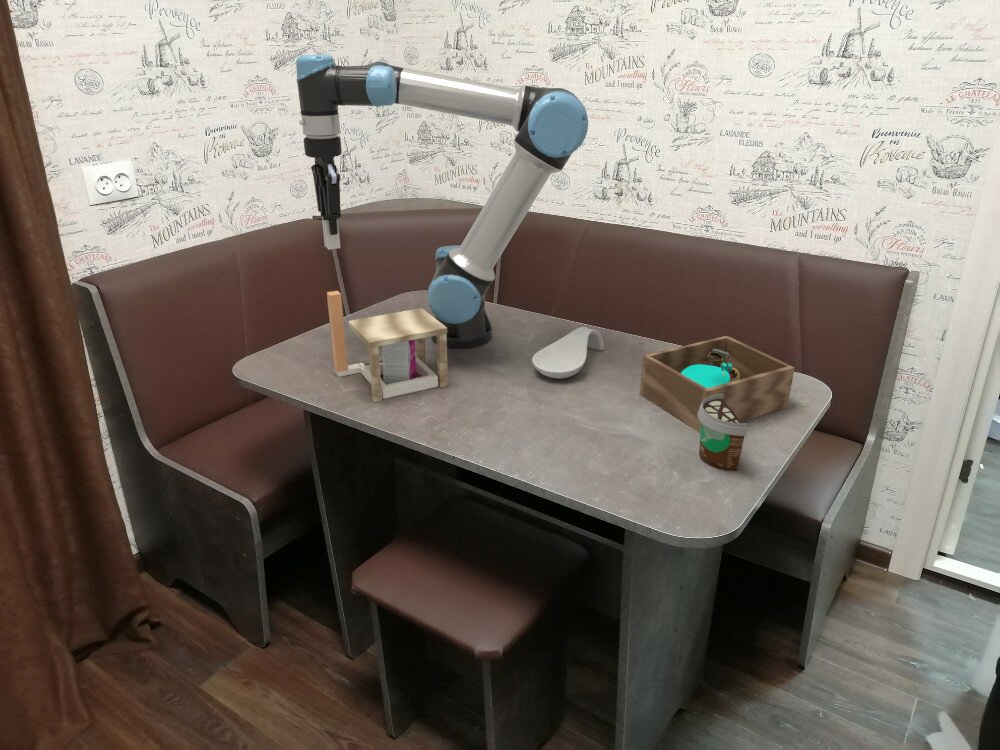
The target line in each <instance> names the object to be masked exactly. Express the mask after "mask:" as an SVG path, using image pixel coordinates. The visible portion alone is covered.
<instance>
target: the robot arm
mask: <svg viewBox="0 0 1000 750" xmlns="http://www.w3.org/2000/svg"><path fill="white" fill-rule="evenodd" d="M295 61H296V62H295V65H296V67H295V68H296V69H295V70H296V84H297V90H298V91H297V92H298V99H299V107H300V115H301V116H300V117H301V119H299V122H298V123H299V125H301V126H302V133H303V135H304V136H305V137H304V139H303V147H304V154H305V156H307V157H308V158H312V159H313V158H314V164H312V165H310V166H311V167H310V169H311V172H312V177H313V183H314V188H315V189H314V190H315V196H316V203H317V210H318V213H319V214H320V216H321V222H322V233H323V241H324V242H323V243H324V247H325V248H327V250H328V251H329V250H335V249H338V250H339V249H341V240H340V239H341V237H340V228H339V219H340V218H341V216H342V214H341V190H340V189H341V188H340V185H341V174H340V173H338V170H337V165H336V164H335V160H334V158H335V157H340V156H341V155H342V153H343V152H342V151H343V149H342V141H341V140H342V139H341V137H340V136H339V135H340V134H341V128H340V127H341V125H340V124H341V123H340V114H339V106H341V107H342V106H343V107H344V106H353V107H354V106H357V107H359V106H360V107H361V106H362V107H365V106H368V107H377V108H380V107H385V106H388V107H389V106H392V105H394V104H396V105H397V104H398V105H402V106H408V107H413V108H419V109H424V110H428V111H435V112H440V113H444V114H450V115H456V116H461V117H466V118H471V119H476V120H481V121H482V120H483V121H487V122H494V123H498V124H502V125H507V126H508V125H509V126H512V127H513V129H514V131H515V132H517V134H516V136H515V138H513V139H514V140H513V143H514V149H515V152H514V154H513V156H512V157H511V159H510V161H509V163H508V164H507V166H506V167H505V170H503V173H502V174H501V177H500V178H499V179H498V182H497V183H496V185H495V186H494V189H493V190H492V192H491V194H490V196H489V197H488V199H487V200H486V202H485V204H484V205H483V207H482V209H481V211H480V212H479V214H478V215H477V217H476V219H475V220H474V222H473V224H472V226H471V228H470V229H469V231H468V232H467V234H466V236H465V238H464V239H463V241H462V243H461V244H460V245H445V246H441V247H438V248H437V249H436V250H435V251H436V252H435V257H434V260H435V273H434V274H433V277H432V279H431V282H430V284H429V285H428V287H427V294H426V295H427V304H428V306H429V309H430V311H431V312H432V313H433V315H434V318H435V319H436V320H438V321H439V322H440V323H441V324H443V325H444V326H445V327H447V333H446V338H447V348H451V349H472V348H476V347H480V346H483V345H485V344H488V343H489V342H490V341H491V340H492V339H493V327H492V324H491V321H490V318H489V316H488V312H487V309H486V303H485V301H486V293H487V292H488V290H489V288H490V287H491V285H492V284H493V282H494V280H495V277H496V275H495V272H494V267H495V266H496V263H498V260H499V259H500V257H501V256H502V255H503V252H505V249H506V247H508V244H509V243H510V241H511V239H512V238H513V237H514V235H515V233H516V232H517V230H518V229H519V226H520V225H521V223H522V221H523V220H524V218H525V217H526V215H527V213H528V211H529V210H530V209H531V207H532V205H533V204H534V203H535V200H536V198H538V196H539V193H540V192H541V191H542V189H543V188H544V186H545V184H546V182H547V181H548V179H550V176H551V175H553V174H555V173H558V172H561V171H563V169H564V167H565V166H566V164H567V163H568V161H569V159H570V158H571V156H572V154H573V153H574V152H576V151H577V150H578V148H580V147H581V146H582V144H583V143H584V141H585V139H586V137H587V135H588V130H589V116H588V112H587V110H586V108H585V106H584V104H583V103H582V101H581V100H580V99H579V98H578V97H577V95H575V94H574V93H573V92H571V91H569V90H567V89H565V88H560V87H539V86H538V87H537V86H530V85H526V84H524V85H522V86H520V88H514V87H509V86H504V85H503V86H502V85H498V84H494V83H493V84H492V83H487V82H482V81H477V80H470V79H467V78H461V77H456V76H449V75H444V74H440V73H433V72H428V71H423V70H420V69H419V70H418V69H412V68H406V67H400V66H396V65H391V64H389V63H387V62H382V61H375V62H371V63H368V64H366V65H344V66H343V65H337V64H336V63H335V59H334V57H333V56H332V55H331V54H302V55H299V56H298V57H297V58H296V60H295ZM431 340H432V341H433V342H434V343H435V344H437V338H436V335H435V336H431Z"/></svg>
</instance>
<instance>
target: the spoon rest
mask: <svg viewBox="0 0 1000 750" xmlns="http://www.w3.org/2000/svg"><path fill="white" fill-rule="evenodd" d="M588 348H589V349H593V350H597V351H603V350H604V348H605V343H604V339H603V337H602V334H601V333H600V332H599V330H598V329H595V328H593V329H590V328H589V327H586V326H581V327H577V328H575V329H573V330H572V331H571V332H569V333H567V334H566V335H564V336H563V337H560V338H559V339H557V340H555V341H554V342H552V343H551V344H548V345H547V346H544V348H541V349H540V350H538V351H537V352H535V354H533V356H532V358H531V363H532V365H533V367H534V368H535V369H536V370H537V371H538V372H539V373H540V374H542V375H543V376H545V377H548V378H550V379H551V378H552V379H558V380H559V379H560V380H563V379H567V378H571V377H572V376H574V375H576V374H577V373H579V372H580V371H581V369H582V368H583V367H584V365H585V363H586V360H587V357H588V356H587V355H588V354H587V353H588Z"/></svg>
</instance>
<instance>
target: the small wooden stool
mask: <svg viewBox="0 0 1000 750" xmlns="http://www.w3.org/2000/svg"><path fill="white" fill-rule="evenodd" d="M348 327H349V328H350V329H351V330H352V332H354V334H355V335H356V336H358V338H359V339H360V340H361V341H362V342H363V344H365V345H366V346H367V349H368V363H369V364H370V376H371V384H370V386H371V387H370V388H371V396H372V399H371V400H372V401H373V402H374V403H380V402H383V398H382V390H381V379H382V378H381V376H382V375H380V363H379V361H380V352H379V347H382V346H384V345H389V344H394V343H399V342H404V341H409V340H415V353H416V356H417V357H418V358H419V359H420V360H421V361H422V362H423V363H424V364H425V365H426V366H427V356H426V355H427V353H426V352H427V351H426V350H427V349H426V348H427V347H426V338H430V337H432V336H435V335H436V338H437V343H436V361H437V364H436V365H437V376H438V386H439V387H440V388H446V387H448V386H449V379H448V377H449V375H448V373H449V372H448V347H447V338H446V333H447V327H445V326H444V325H443V324H441V323H440V322H439V321H438V320H436V319H435V316H432V314H430V313H429V312H428V311H426V310H425V309H424V308H422V307H421V308H414V309H408V310H404V311H403V310H402V311H397V312H391V313H386V314H385V313H384V314H380V315H375V316H369V317H364V318H363V317H362V318H357V319H356V318H355V319H352V320H348Z"/></svg>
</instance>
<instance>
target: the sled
mask: <svg viewBox="0 0 1000 750" xmlns="http://www.w3.org/2000/svg"><path fill="white" fill-rule="evenodd" d="M326 297H327V298H326V299H327V309H328V319H329V326H330V337H331V346H332V347H331V348H332V355H333V356H332V357H333V367H334V374H335V375H336V376H337V377H338V378H340V377H345V376H348V375H349V376H351V375H355V374H362V376H364V379H366V380H367V382H368V383H369V384H370V385H371V376H370V365H367V366H365V364H364V363H363V362H359V363H354V364H348V355H347V344H346V333H345V324H344V323H345V321H344V311H343V302H342V294H341V293H340V292H339V290H333V291H327V292H326ZM415 361H416V374H418V375H420V376H419V377H416V378H415V379H410V380H406V381H401V382H396V383H392V384H387V385H386V384H385V383H384V380H383V379H382V378H381V390H382V400H383V399H388V398H393V397H397V396H398V397H399V396H401V395H402V396H403V395H407V394H411V393H416V392H419V391H424V390H425V391H426V390H429V389H433V388H438V386H439V385H438V374H436V373H435V372H434V371H433V370H432V369H430V367H428V366H427V364H426V365H425V364H424V363H423V362H422V361H421V360H420V359H419V358H418V357H417V355H415ZM380 376H384V374H383V362H382V363H380Z"/></svg>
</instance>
